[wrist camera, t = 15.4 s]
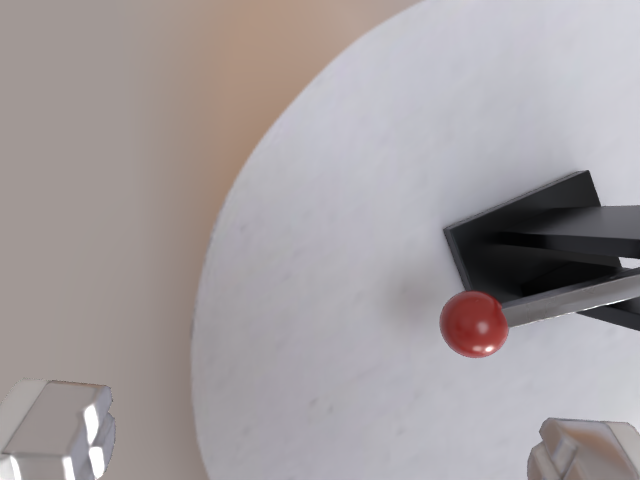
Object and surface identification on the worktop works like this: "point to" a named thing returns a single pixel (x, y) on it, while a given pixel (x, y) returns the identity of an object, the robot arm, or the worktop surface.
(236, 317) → the worktop surface
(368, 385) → the worktop surface
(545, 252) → the bracket
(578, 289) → the lever
